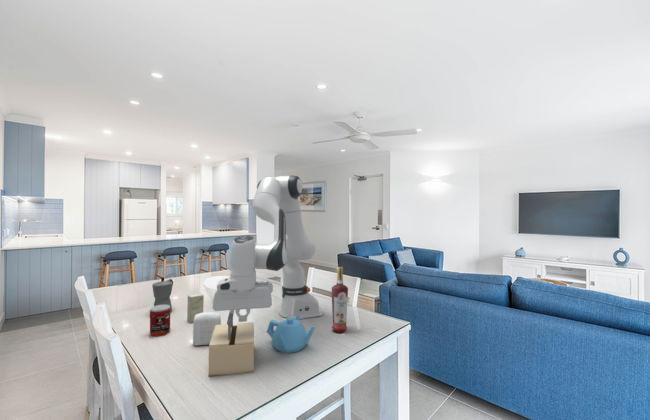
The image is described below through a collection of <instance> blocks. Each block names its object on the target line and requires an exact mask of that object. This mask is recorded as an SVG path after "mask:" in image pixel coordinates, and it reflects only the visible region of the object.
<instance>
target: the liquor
mask: <svg viewBox="0 0 650 420" xmlns="http://www.w3.org/2000/svg"><path fill="white" fill-rule="evenodd" d="M336 274H337V276H336V284H334V285H333V286H332V287H331V305H332V306H331V307H332V326H331V329H332V330H333V331H334V332H336V333H338V334H339V333H341V334H342V333H345V331H346V330H347V329H348V326H347V316H348V315H347V313H348V312H347V311H348V298H349V296H348V295H349V288H348V286H347V285H345V284H344V278H343V277H344V275H343V274H344V267H343V266H337V267H336Z"/></svg>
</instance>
